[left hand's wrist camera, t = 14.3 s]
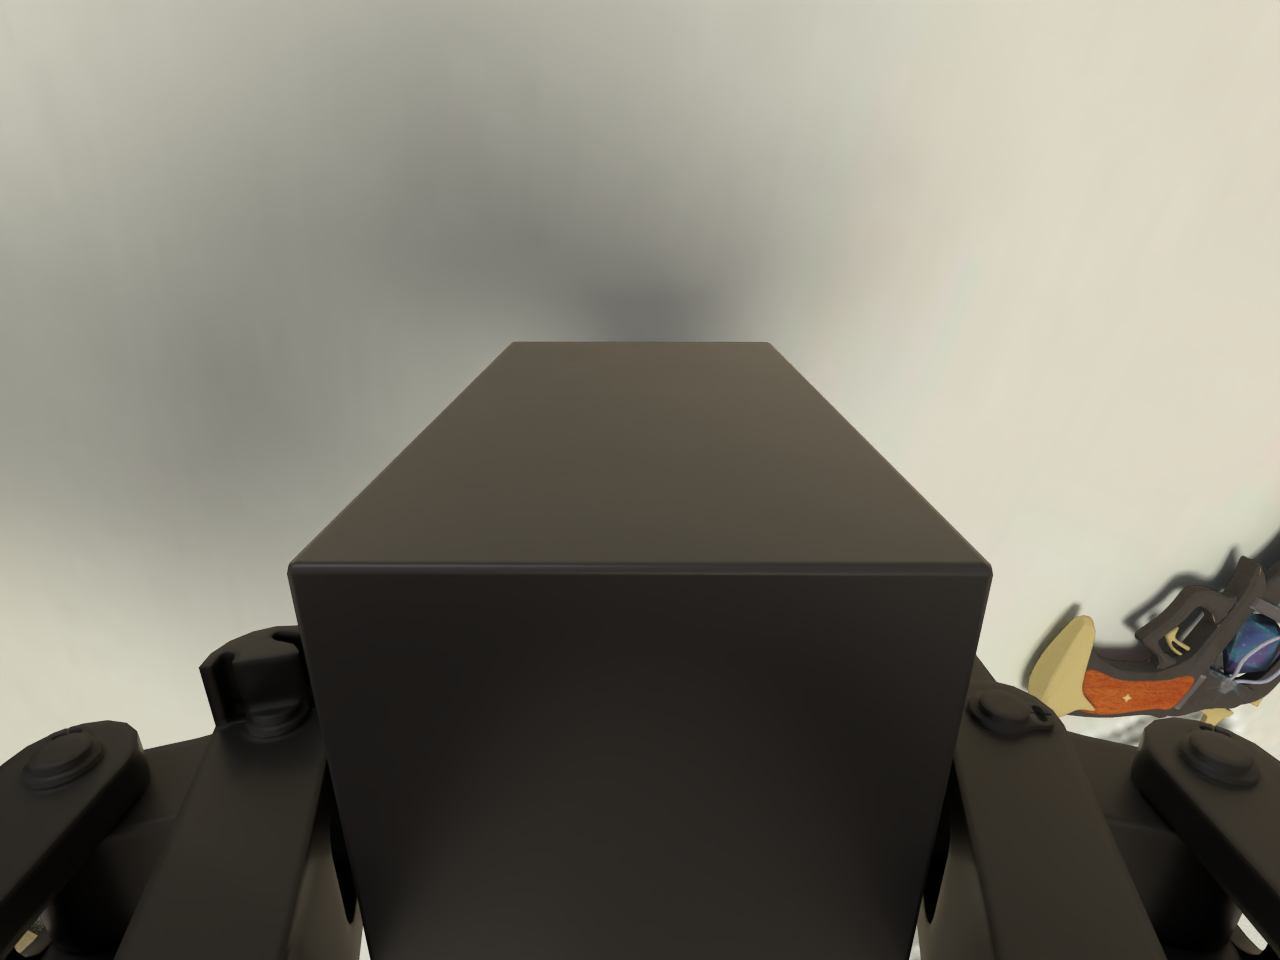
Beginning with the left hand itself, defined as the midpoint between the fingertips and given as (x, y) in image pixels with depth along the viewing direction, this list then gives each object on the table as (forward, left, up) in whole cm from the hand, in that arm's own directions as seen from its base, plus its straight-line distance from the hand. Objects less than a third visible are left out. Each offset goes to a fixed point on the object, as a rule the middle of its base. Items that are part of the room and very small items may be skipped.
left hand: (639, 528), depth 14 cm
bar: (+9, -5, -1) cm, 10 cm away
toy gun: (+22, +18, -15) cm, 33 cm away
